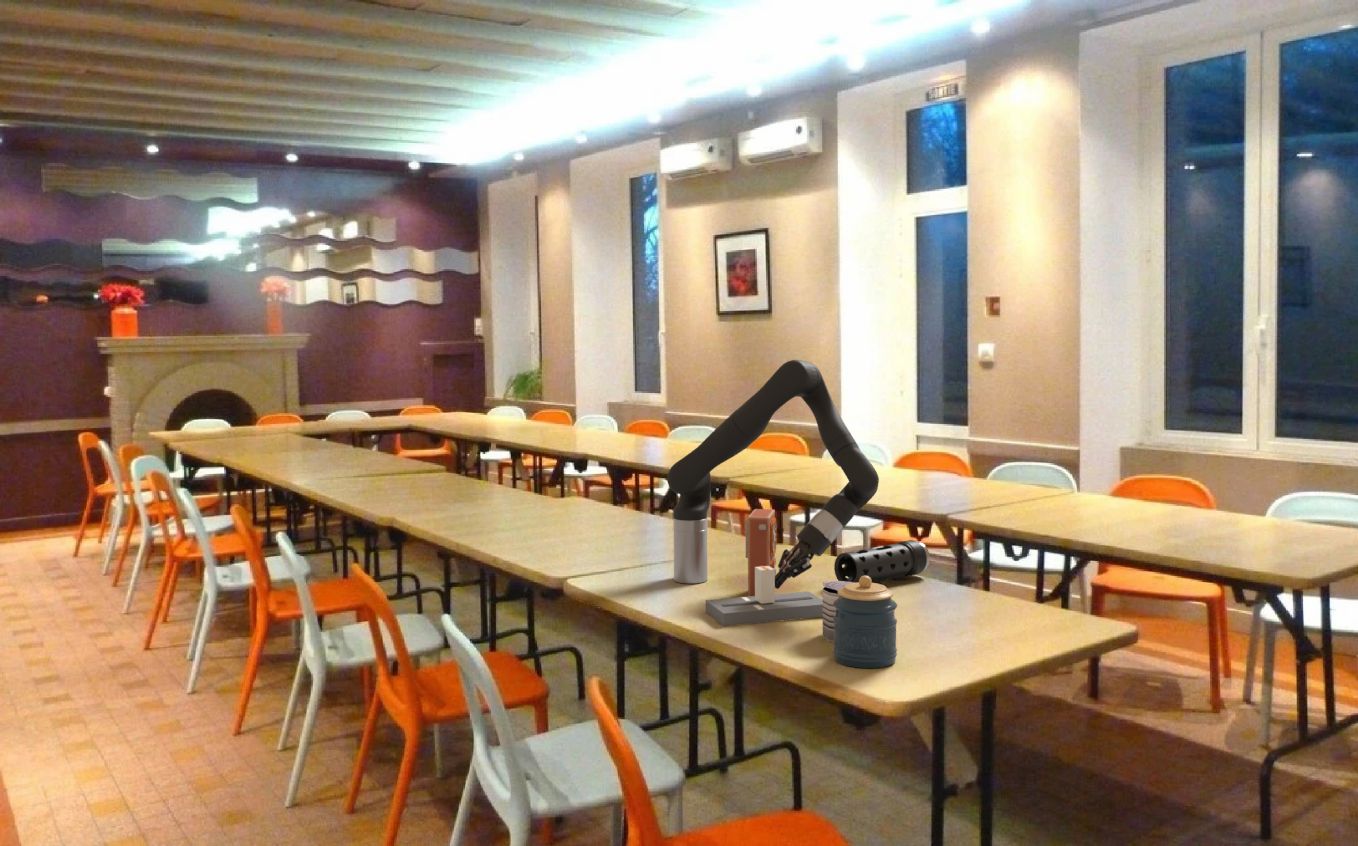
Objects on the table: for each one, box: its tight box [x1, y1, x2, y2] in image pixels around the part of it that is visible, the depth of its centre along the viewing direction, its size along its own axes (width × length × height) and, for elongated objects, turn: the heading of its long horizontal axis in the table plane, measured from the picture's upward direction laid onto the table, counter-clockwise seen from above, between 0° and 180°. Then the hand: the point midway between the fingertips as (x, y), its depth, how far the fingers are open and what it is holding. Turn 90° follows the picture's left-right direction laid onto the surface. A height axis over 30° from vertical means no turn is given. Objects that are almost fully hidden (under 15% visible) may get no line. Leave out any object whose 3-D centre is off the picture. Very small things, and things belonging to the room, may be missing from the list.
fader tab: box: [755, 566, 776, 604], centre depth 260 cm, size 4×4×8 cm
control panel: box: [744, 508, 778, 597], centre depth 279 cm, size 21×7×15 cm
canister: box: [832, 576, 898, 669], centre depth 224 cm, size 13×13×18 cm
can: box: [822, 580, 855, 643], centre depth 241 cm, size 11×11×12 cm
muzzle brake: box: [833, 539, 931, 585], centre depth 292 cm, size 10×28×10 cm, turn 126°
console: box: [705, 591, 823, 627], centre depth 261 cm, size 13×27×3 cm, turn 107°
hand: (773, 586), depth 261 cm, fingers closed
